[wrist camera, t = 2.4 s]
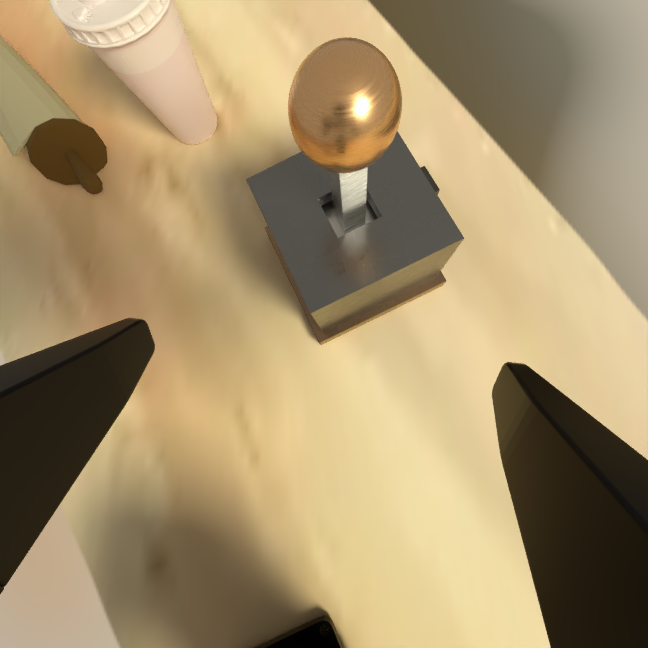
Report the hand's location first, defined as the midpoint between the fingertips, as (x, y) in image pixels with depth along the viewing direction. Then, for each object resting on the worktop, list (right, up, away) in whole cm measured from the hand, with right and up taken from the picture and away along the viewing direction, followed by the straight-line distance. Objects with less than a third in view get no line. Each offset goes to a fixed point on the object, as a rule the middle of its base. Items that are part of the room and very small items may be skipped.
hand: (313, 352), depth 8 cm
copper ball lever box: (+2, +5, +15) cm, 16 cm away
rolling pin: (-27, +21, +21) cm, 40 cm away
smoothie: (-10, +17, +18) cm, 27 cm away
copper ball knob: (+2, +6, +10) cm, 12 cm away
